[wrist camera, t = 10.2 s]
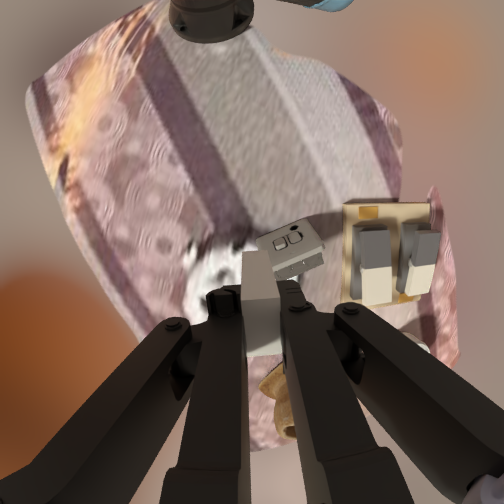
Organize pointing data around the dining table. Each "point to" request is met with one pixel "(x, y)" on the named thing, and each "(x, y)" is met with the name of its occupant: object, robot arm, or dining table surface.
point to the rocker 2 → (422, 262)
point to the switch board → (401, 239)
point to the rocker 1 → (376, 267)
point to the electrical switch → (292, 249)
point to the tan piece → (280, 402)
